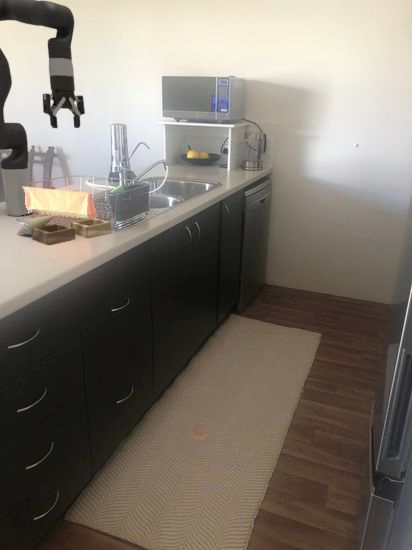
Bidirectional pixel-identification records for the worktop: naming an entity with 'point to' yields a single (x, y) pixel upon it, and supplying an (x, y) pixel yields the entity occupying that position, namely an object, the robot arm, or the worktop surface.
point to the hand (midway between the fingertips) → (66, 128)
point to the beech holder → (91, 227)
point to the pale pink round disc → (199, 432)
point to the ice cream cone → (34, 224)
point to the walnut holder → (53, 233)
